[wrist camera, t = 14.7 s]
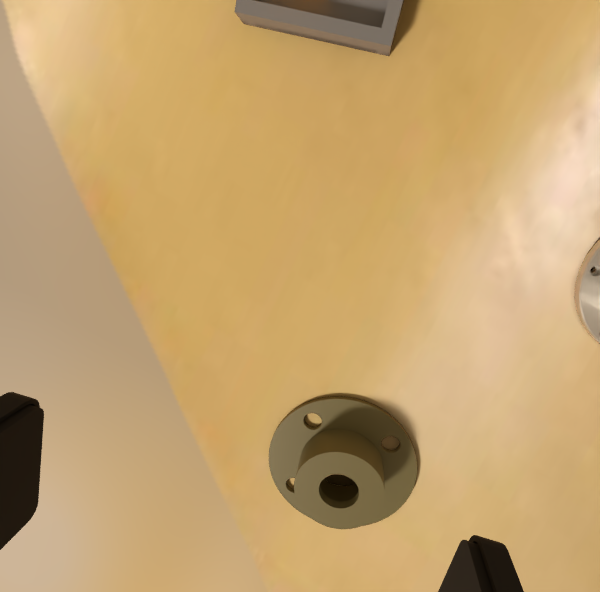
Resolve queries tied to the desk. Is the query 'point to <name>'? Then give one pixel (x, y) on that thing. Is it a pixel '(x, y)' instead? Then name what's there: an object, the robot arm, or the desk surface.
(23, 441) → the robot arm
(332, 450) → the flange
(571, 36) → the desk surface
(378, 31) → the parts tray
